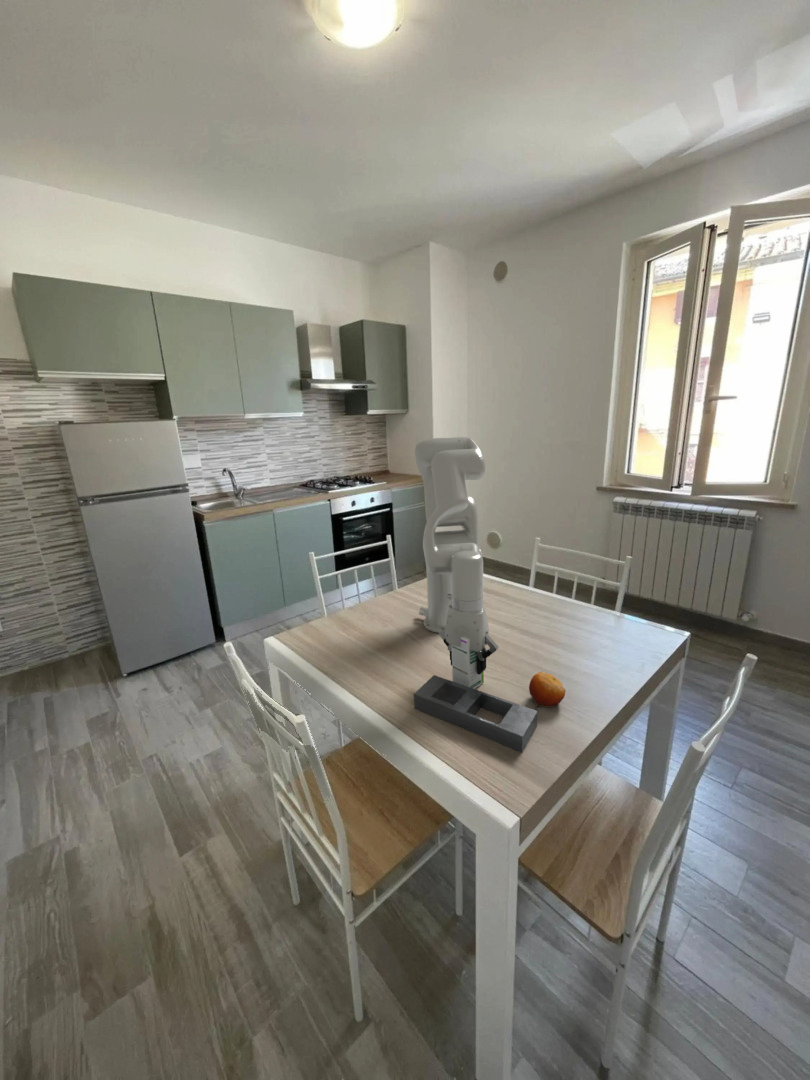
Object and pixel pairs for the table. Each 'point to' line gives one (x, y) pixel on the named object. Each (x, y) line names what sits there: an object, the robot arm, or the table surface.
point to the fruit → (546, 690)
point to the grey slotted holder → (464, 705)
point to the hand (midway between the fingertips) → (467, 667)
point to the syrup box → (465, 665)
